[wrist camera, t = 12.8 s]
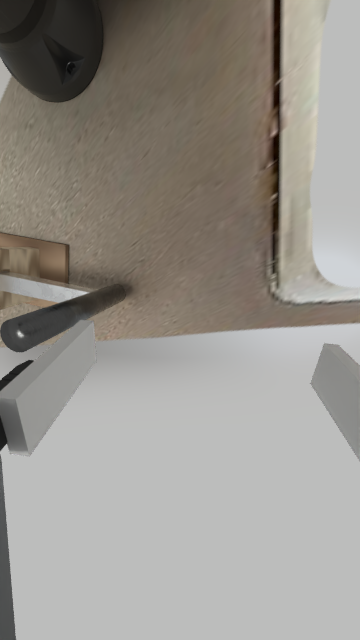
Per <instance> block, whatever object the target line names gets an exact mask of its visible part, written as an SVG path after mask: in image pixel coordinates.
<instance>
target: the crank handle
mask: <svg viewBox="0 0 360 640" xmlns="http://www.w3.org/2000/svg"><path fill="white" fill-rule="evenodd" d="M0 290H1V291H6V292H10V293H15V294H20V295H24V296H29V297H34V298H38V299H43V300H48V301H52V302H57V304H54V305H51V306H48V307H45V308H42V309H39V310H36V311H33V312H30V313H27V314H25V315H22V316H19V317H16V318H13V319H10V320H7V321H5V322H4V323H3V324H2V326H1V330H0V333H1V338H2V340H3V342H4V343H5V345H6V346H7V347H8V348H10V349H11V350H13V351H15V352H24V351H27V350H28V349H30V348H32V347H34V346H36V345H38V344H40V343H42V342H44V341H46V340H48V339H50V338H52V337H54V336H56V335H58V334H59V333H61V332H63V331H65V330H67V329H69V328H71V327H73V326H74V325H75V324H76V323H78V322H79V321H80V320H86V319H88V318H90V317H92V316H94V315H96V314H98V313H100V312H102V311H104V310H106V309H108V308H110V307H112V306H113V305H115V304H117V303H119V302H121V301H123V300H124V299H125V296H126V292H125V289H124V288H123V287H122V286H121V285H119V284H114V285H111V286H108V287H105V288H102V289H99V290H97V289H92V288H87V287H82V286H77V285H72V284H67V283H62V282H57V281H52V280H47V279H42V278H37V277H32V276H28V275H23V274H18V273H13V272H8V271H0Z"/></svg>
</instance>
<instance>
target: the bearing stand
mask: <svg viewBox="0 0 360 640" xmlns="http://www.w3.org/2000/svg"><path fill="white" fill-rule="evenodd" d="M68 266H69V245H66V244H60V243H55V242H49V241H44V240H38V239H32V238H27V237H21V236H16V235H10V234H5V233H0V271H8V272H13V273H18V274H23V275H28V276H32V277H37V278H42V279H47V280H52V281H57V282H62V283H67V284H68ZM22 303H27V304H32V305H36V306H41V307H48V306H51V305H54V304H57V302H52V301H48V300H43V299H38V298H34V297H29V296H24V295H20V294H15V293H10V292H6V291H1V290H0V310H1V309H5V308H8V307H12V306H15V305H19V304H22Z"/></svg>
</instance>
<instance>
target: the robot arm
mask: <svg viewBox="0 0 360 640" xmlns="http://www.w3.org/2000/svg"><path fill="white" fill-rule="evenodd" d="M102 42H103V30H102V21H101V15H100V11H99V8H98V5H97V2H96V0H0V57H1V59H2V61H3V63H4V64H5V66H6V67H7V69H8V70H9V72H10V73H11V74H12V75H13V77H14V78H15V79H16V80H17V81H18V82H19V83H20V84H21V85H23V86H24V87H25V88H26V89H28V90H29V91H30V92H31V93H33V94H34V95H36V96H37V97H39V98H41V99H43V100H46V101H51V102H62V101H66V100H69V99H71V98H73V97H75V96H77V95H78V94H79V93H80V92H82V91H83V90H84V89H85V88H86V86H87V85H88V84H89V82H90V81H91V79H92V78H93V76H94V74H95V72H96V69H97V67H98V64H99V60H100V56H101V51H102ZM95 363H96V346H95V333H94V321H89V320H80V321H79V322H78V323H76V324H75V325H74V326H73V327H72V328H71V329H70V330H69V331H67V332H66V333H65V334H64V335H63V336H62V337H61V338H60V339H58V340H57V341H56V342H55V343H54V344H53V345H52V346H51V347H49V348H48V349H47V350H46V351H45V352H44V353H43V354H42V355H40V356H39V357H38V358H37V359H36V360H35V361H33V360H28V361H26V362H24V363H22V364H20V365H18V366H16V367H15V368H14V369H13V370H12V371H10V372H9V374H7V375H6V376H4V377H3V378H2V380H0V451H1V449H2V448H3V447H4V446H5V445H6V444H7V445H8V448H9V451H10V454H14V455H23V456H30V455H31V454H32V452H33V451H34V449H35V448H36V447H37V445H38V444H39V442H40V441H41V440H42V438H43V437H44V435H45V434H46V432H47V431H48V429H49V428H50V427H51V425H52V424H53V422H54V421H55V420H56V418H57V417H58V415H59V414H60V412H61V411H62V410H63V408H64V407H65V405H66V404H67V403H68V401H69V400H70V398H71V397H72V395H73V394H74V393H75V391H76V390H77V388H78V387H79V385H80V384H81V383H82V381H83V380H84V378H85V377H86V375H87V374H88V373H89V371H90V370H91V368H92V367H93V366H94V364H95ZM311 385H312V387H313V389H314V390H315V391H316V393H317V395H318V396H319V398H320V399H321V401H322V402H323V404H324V406H325V407H326V409H327V410H328V412H329V414H330V415H331V417H332V418H333V420H334V421H335V423H336V425H337V426H338V428H339V429H340V431H341V432H342V434H343V436H344V437H345V439H346V440H347V442H348V443H349V445H350V447H351V448H352V450H353V451H354V453H355V454H356V456H357V457H358V459H359V461H360V365H359V364H358V363H356V362H355V361H354V360H353V359H352V358H351V357H350V356H349V355H348V354H347V353H346V352H345V351H344V350H343V349H342V348H341V347H340V346H339V345H334V344H324V346H323V349H322V351H321V355H320V357H319V360H318V363H317V366H316V369H315V372H314V375H313V378H312V380H311ZM4 500H5V499H4V487H3V474H2V462H1V456H0V640H16V636H15V624H14V611H13V599H12V587H11V574H10V563H9V562H10V561H9V549H8V537H7V524H6V512H5V501H4Z"/></svg>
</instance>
